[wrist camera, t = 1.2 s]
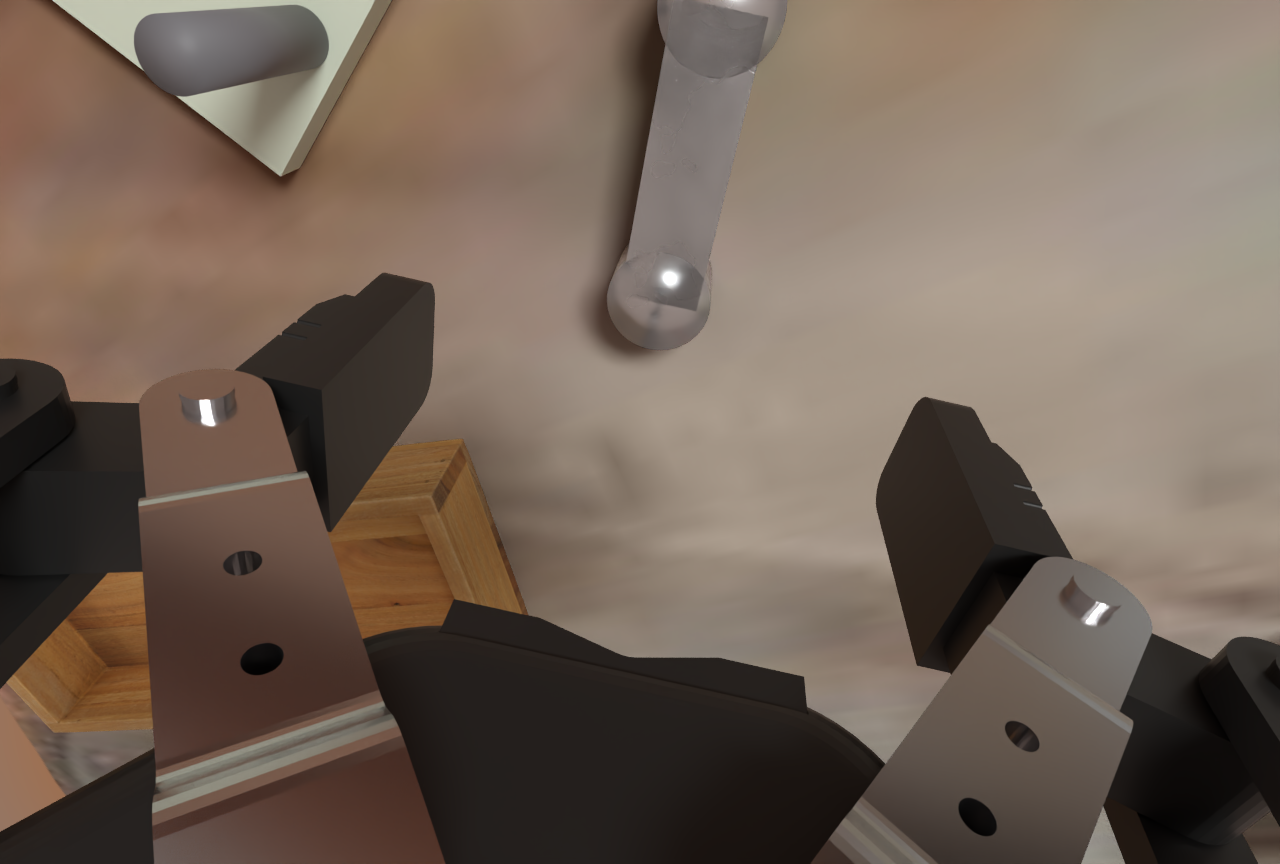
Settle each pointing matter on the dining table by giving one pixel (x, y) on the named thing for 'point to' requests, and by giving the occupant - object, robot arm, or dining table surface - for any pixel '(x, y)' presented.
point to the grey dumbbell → (688, 165)
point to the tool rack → (244, 61)
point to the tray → (369, 564)
